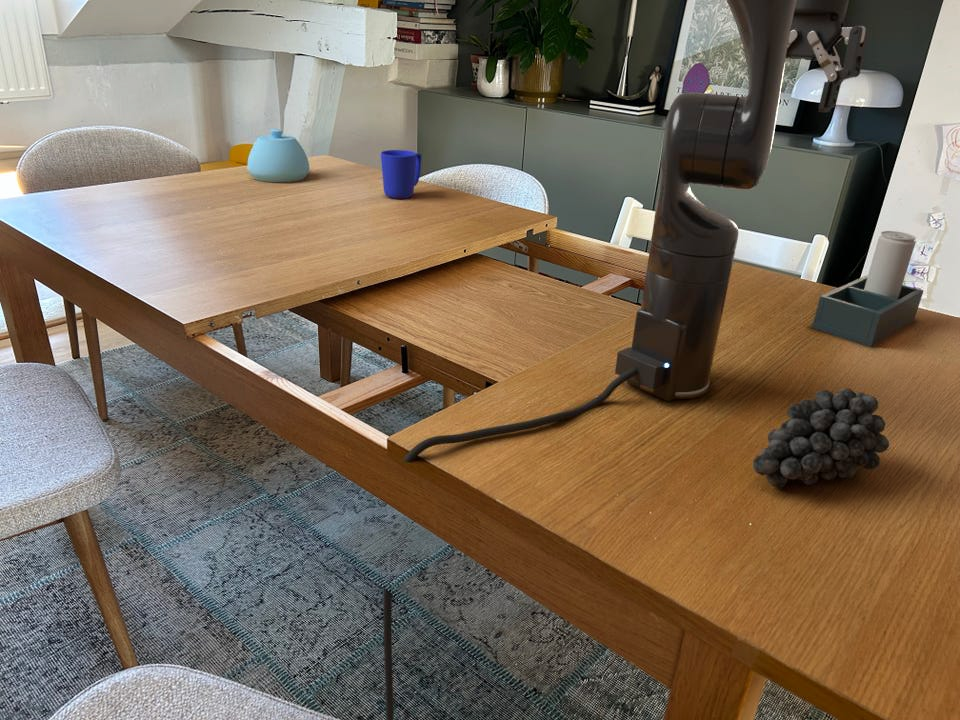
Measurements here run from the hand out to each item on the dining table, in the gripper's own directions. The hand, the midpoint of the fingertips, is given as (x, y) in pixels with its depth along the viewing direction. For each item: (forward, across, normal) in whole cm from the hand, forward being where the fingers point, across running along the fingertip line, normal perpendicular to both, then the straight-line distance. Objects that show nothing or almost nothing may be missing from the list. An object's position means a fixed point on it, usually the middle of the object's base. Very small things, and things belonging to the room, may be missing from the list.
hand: (793, 107), depth 99 cm
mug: (+30, -91, +3) cm, 96 cm away
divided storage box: (+30, +13, +11) cm, 35 cm away
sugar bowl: (+30, -123, -12) cm, 127 cm away
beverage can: (+29, +13, +15) cm, 35 cm away
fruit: (+30, +26, -36) cm, 54 cm away
